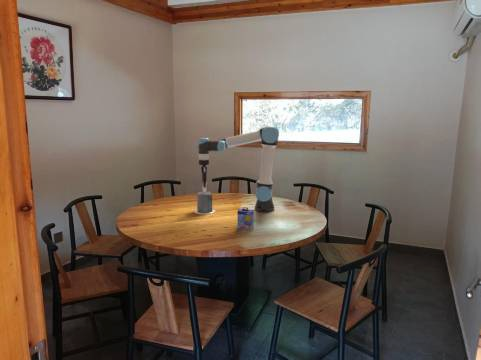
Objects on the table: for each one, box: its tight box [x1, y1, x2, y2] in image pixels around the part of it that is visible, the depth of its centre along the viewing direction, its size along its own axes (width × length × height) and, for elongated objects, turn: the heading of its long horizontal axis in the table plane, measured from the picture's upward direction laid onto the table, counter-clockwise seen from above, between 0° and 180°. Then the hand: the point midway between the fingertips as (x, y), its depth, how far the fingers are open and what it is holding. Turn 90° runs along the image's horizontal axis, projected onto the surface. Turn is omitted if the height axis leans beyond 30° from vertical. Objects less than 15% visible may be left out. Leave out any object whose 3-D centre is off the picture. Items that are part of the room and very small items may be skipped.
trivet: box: [193, 208, 216, 215], centre depth 276 cm, size 16×16×1 cm
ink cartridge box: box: [237, 206, 255, 231], centre depth 237 cm, size 10×6×14 cm, turn 78°
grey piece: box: [196, 191, 213, 213], centre depth 276 cm, size 11×14×14 cm
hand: (204, 190), depth 273 cm, fingers closed on plunger, 4 cm apart
